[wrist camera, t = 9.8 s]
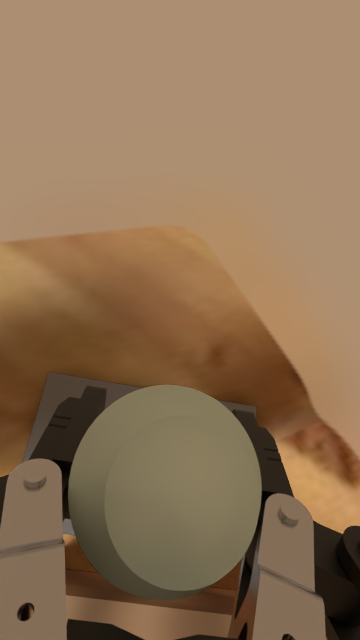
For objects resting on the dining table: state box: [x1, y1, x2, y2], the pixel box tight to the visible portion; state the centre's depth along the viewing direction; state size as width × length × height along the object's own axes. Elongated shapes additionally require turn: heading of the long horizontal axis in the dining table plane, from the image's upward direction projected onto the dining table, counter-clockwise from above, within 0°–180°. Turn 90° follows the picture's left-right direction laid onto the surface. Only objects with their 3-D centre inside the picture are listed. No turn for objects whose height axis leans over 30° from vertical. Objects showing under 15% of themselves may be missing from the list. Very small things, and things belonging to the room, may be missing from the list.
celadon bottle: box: [68, 385, 262, 600], centre depth 11 cm, size 5×5×12 cm
